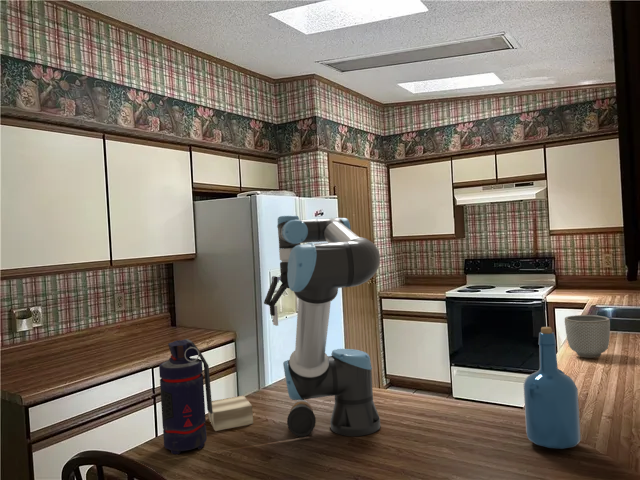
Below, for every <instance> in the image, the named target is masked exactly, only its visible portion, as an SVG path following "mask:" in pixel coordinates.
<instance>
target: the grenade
mask: <svg viewBox="0 0 640 480" xmlns="http://www.w3.org/2000/svg"><path fill="white" fill-rule="evenodd" d="M167 345H168V348H169V351H170V357H169V360H166V361H164V362H162V363H160V364H159V366H158V368H159V369H158V370H159V373H158V374H159V378H160V379H159V387H160V388H159V389H160V401H161V402H160V404H161V405H160V407H161V419H162V422H161V423H162V435H163V447H164V448H165V449H167V450H169V451H170V452H171V454H172V455H179V454H181V452H185V451H189V450H193V449H194V450H195V449H198V450H201V449H202V448H203V447H204V446H205V443H206V441H207V425H206V424H207V423H206V421H207V420H206V408H207V412H208V411H209V412H210V413H211V414H212V413H213V411H212V401H213V400H212V392H211V391H212V390H211V379H210V368H209V367H210V365H209V364H208V362H207V361H206V359H205V357H204V355H203V353H202V352H201V351H200V349H199V348H198V347H197V346H196V344H195V343H194V342H193V341H192V340H190V339H189V338H184V339H182V340H181V339H178V340H174V341H173V342H169V343H168V344H167ZM195 356H197V357H195ZM203 373H204V374H203ZM204 385H205V386H204ZM205 396H206V397H205ZM205 398H206V404H205Z"/></svg>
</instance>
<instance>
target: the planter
mask: <svg viewBox="0 0 640 480" xmlns="http://www.w3.org/2000/svg"><path fill="white" fill-rule="evenodd" d="M564 326H565V334H566V340H567V343H568V346H569V348H570V349H571V350H572V351H574V353H576V355H577V356H579V357H582V358H588V359H589V358H590V359H592V358H594V359H596V358H599V357H601V356H602V354H603V353H604V352H606V351H607V350H608V348H609V345H610V338H611V337H610V336H611V335H610V334H611V333H610V331H611V321H610V318H609V317H607V316H604V315H603V316H602V315H593V314H580V315H570V316H566V317H564Z"/></svg>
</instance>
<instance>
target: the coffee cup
mask: <svg viewBox="0 0 640 480" xmlns="http://www.w3.org/2000/svg"><path fill="white" fill-rule="evenodd" d="M286 419H287V421H286V424H287V427H288V429H289V432H290V433H292V434H293V435H294V436H296V437H307V436H308V435H310V434H311V433H312V432H313V431H314V429H315V426H316V423H317V419H316V414H315V413H314V411H313V407H312V405H311V403H310V402H309V401H307V399H305V400H295V402H294V403H293V405H292V406H291V408H290V410H289V414H288V415H287V418H286Z"/></svg>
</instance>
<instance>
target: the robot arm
mask: <svg viewBox="0 0 640 480" xmlns="http://www.w3.org/2000/svg"><path fill="white" fill-rule="evenodd" d="M276 228H277V235H278V236H277V238H278V252H279V261H280V263H279V268H280V269H279V271H280V276H276V275H275V276H274V275H273V276H272V277H271V283H270V286H269V288H268V291H267V293H266V296H265V299H264V301H263V304H264V305H267V306H269V314H270V316H271V317H272V321H273V322H272V323H273V326H276V327H277V326H279V318H278V317H279V316H278V315H279V314H278V305H277V302H278V301H279V299H280V298H281V296H282V295H283V294H284V292H285V291H286V290H287V289H289V290H290V291H291V292H293V293H294V296H296V298H297V299H298V301H297V314H296V315H297V318H296V330H295V331H296V333H295V347H294V350H293V352H292V353H291V354H290V356H289V359H287V360H285V361H283V364H282V365H283V372H284V378H285V382H286V383H285V384H286V388H287V394H288V397H289V399H290V400H292V401H298V400H311V399H317V398H319V399H320V398H327V397H334V404H333V408H332V412H331V417H330V422H329V424H330V430H331V431H332V432H333V433H335V434H336V435H340V436H345V437H346V436H347V437H360V436H367V435H371V434H373V433H376V432H378V431H379V430H380V429H381V418H380V415H379V413H378V411H377V407H376V405H375V402H374V395H373V394H374V393H373V377H372V375H373V374H372V370H373V367H372V362H371V357H370V354H369V353H368V352H366V351H362V350H359V349H352V348H337V349H333V350H331V355H327V353H326V347H327V337H328V329H329V328H328V327H329V322H330V321H329V319H330V311H331V302H332V301H334V300H335V298H336V297H337V296H338V292H339V289H342V288H352V287H358V286H361V285H363V284H364V283H367V282H368V281H369V280H371V279H372V278H373V277H374V276H375V274H376V273H377V272H378V269H379V268H380V263H381V254H380V252H379V249H378V247H377V245H376V244H374V243H373V241H371V240H370V239H368V238H365V237H362V236H358V234H357V233H355V232H353V231H352V230H351V224H350V221H349V219H348V218H347V217H334V218H333V217H331V218H312V219H300V218H299V216H298V215H295V214H294V215H293V214H292V215H281V216H279V217H277V226H276ZM279 282H281V284H280V286H279V288H278V290H276V289H277V285H278V283H279ZM275 291H276V292H275ZM274 293H275V294H274Z"/></svg>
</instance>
